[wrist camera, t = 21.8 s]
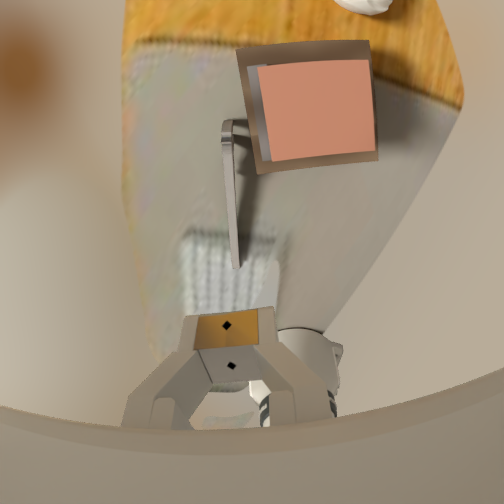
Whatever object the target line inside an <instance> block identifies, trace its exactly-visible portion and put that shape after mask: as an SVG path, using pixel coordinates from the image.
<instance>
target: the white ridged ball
mask: <svg viewBox="0 0 504 504" xmlns="http://www.w3.org/2000/svg"><path fill="white" fill-rule="evenodd" d="M334 1H335V2H336V3H337V4H339V5H340V6H341V7H343V8H345V9H347V10H349V11H351V12H354V13H359V14H366V15H375V14H379V13H382V12H385V11H387V10H388V8H389V7H388V6H389V5H390V4H391V3H392V1H393V0H334Z"/></svg>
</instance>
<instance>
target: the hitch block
mask: <svg viewBox="0 0 504 504" xmlns="http://www.w3.org/2000/svg"><path fill="white" fill-rule="evenodd" d="M236 55H237V61H238V66H239V72H240V78H241V83H242V89H243V95H244V100H245V106H246V112H247V118H248V124H249V130H250V135H251V141H252V147H253V153H254V159H255V165H256V172H257V175H258V174H265V173H272V172H279V171H287V170H295V169H303V168H311V167H320V166H329V165H338V164H348V163H359V162H370V161H378V136H377V116H376V101H375V89H374V78H373V69H372V60H371V52H370V44H369V40H324V41H305V42H292V43H281V44H272V45H263V46H256V47H249V48H242V49H236ZM330 60H368V61H369V70H370V79H371V90H372V102H373V116H374V135H375V151H364V152H352V153H341V154H331V155H322V156H313V157H305V158H297V159H289V160H281V161H274V162H272V159H271V152H270V145H269V139H268V132H267V126H266V119H265V113H264V106H263V100H262V94H261V88H260V82H259V76H258V70H257V67H262V66H270V65H279V64H288V63H299V62H312V61H330Z"/></svg>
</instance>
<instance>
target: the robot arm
mask: <svg viewBox="0 0 504 504" xmlns="http://www.w3.org/2000/svg"><path fill="white" fill-rule="evenodd" d="M342 354H343V346H342V345H341V344H338V343H335V342H331V341H329V340H328V339H327V338H325V337H324V336H323V335H321V334H319V333H317V332H315V331H312V330H307V329H287V330H282V331H277V324H276V318H275V311H274V307H273V306H269V307H262V308H256V309H248V310H241V311H232V312H223V313H212V314H200V315H190V316H186V317H185V318H184V320H183V325H182V329H181V334H180V339H179V344H178V349H177V352H172V353H171V354H170V355H169V356H168V357H167V358H166V359H165V360H164V361H163V362H162V363H161V364H160V365H159V366H158V367H157V368H156V369H155V370H154V371H153V372H152V373H151V374H150V375H149V376H148V377H147V378H146V379H145V380H144V381H143V382H142V383H141V384H140V385H139V386H138V387H137V388H136V389H135V390H134V391H133V392H132V393H131V394H130V395H129V396H128V400H127V404H126V408H125V412H124V415H123V420H122V423H121V427H118V426H108V425H100V424H92V423H85V422H78V421H71V420H65V419H60V418H54V417H49V416H44V415H39V414H35V413H30V412H26V411H22V410H17V409H13V408H9V407H6V406H2V405H0V504H504V368H501V369H499V370H497V371H494V372H492V373H489V374H487V375H484V376H482V377H479V378H477V379H474V380H472V381H469V382H466V383H463V384H461V385H458V386H455V387H452V388H449V389H447V390H443V391H440V392H437V393H434V394H431V395H428V396H424V397H421V398H417V399H414V400H411V401H407V402H403V403H399V404H395V405H392V406H387V407H383V408H379V409H375V410H371V411H366V412H361V413H356V414H351V415H346V416H341V417H337V411H336V410H337V407H336V403H335V399H334V396H335V395H337V389H338V388H339V385H340V379H339V373H338V364H339V361H340V359H341V356H342ZM239 381H249V385H250V395H251V397H253V398H254V400H255V401H256V402H257V403H258V404H259V405H260V406H259V408H260V409H259V410H260V412H259V419H260V425H261V427H256V428H242V429H221V430H195V429H194V428H193V427H192V425H191V424H190V422H189V421H188V420H189V419H190V417H191V416H192V414H193V413H194V411H195V410H196V409H197V407H198V406H199V404H200V403H201V402H202V400H203V399H204V397H205V396H206V395H207V393H208V392H209V390H210V389H211V387H212V386H213V384H218V383H229V382H239Z"/></svg>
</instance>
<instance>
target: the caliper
mask: <svg viewBox="0 0 504 504" xmlns="http://www.w3.org/2000/svg"><path fill="white" fill-rule="evenodd" d="M232 132H233V120H224V122H223V124H222V131H221V135H222V139H221V144H222V154H223V165H224V178H225V189H226V199H227V212H228V224H229V236H230V248H231V260H232V267H233V269H236V268H240V264H239V245H238V228H237V212H236V194H235V171H234V155H233V151H234V134H232Z"/></svg>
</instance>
